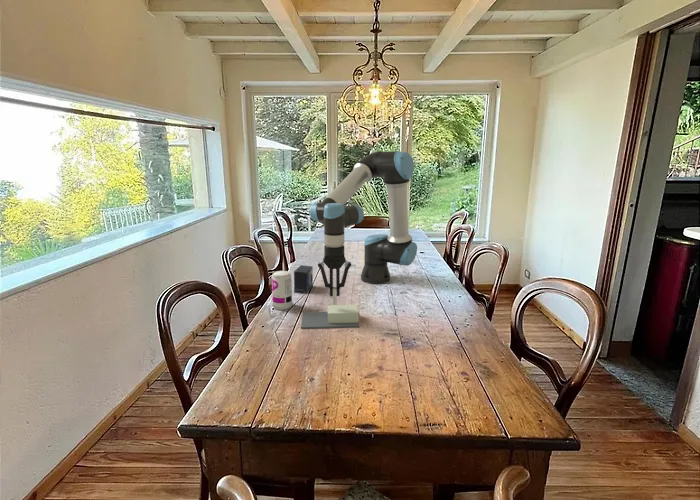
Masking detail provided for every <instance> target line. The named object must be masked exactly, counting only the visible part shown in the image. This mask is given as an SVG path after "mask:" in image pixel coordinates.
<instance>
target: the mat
mask: <svg viewBox="0 0 700 500" xmlns="http://www.w3.org/2000/svg"><path fill="white" fill-rule="evenodd" d="M343 328H346V329H347V328H349V329H350V328H360V321H359V322H356V323H328V311H307V312H304V311H303V312H302V316H301V324H300V329H301V330H302V329H307V330H309V329H343Z"/></svg>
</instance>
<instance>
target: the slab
mask: <svg viewBox="0 0 700 500" xmlns="http://www.w3.org/2000/svg"><path fill="white" fill-rule="evenodd" d="M327 312H328V323H356V322H359V323H360V310H359V305H358V304H337V305H333V304H332V305H327Z"/></svg>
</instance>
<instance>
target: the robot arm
mask: <svg viewBox="0 0 700 500" xmlns="http://www.w3.org/2000/svg"><path fill="white" fill-rule="evenodd" d="M414 171H415V162H414V159H413V157H412V155H411V154H410V153H409V152H406V151H399V150H397V151H396V150H395V151H393V150H392V151H390V150H389V151H387V150H386V151H382V150H380V151H379V150H377V151H373V152H371V153H369V154H367V155H365V156H364V157H362V158H361V159H360V160H359V161H357V162H356V164H354V166H353V168H352V170H351V172H350V173H349V174H348V175H347V176H346V177H345V178H344V179H343V180H342V181H341V182H340V183H339V184H338V185H337V186H335V188H334V189H333V190H332V191H331V192H330V193H329V194H328V195H327V196H326V197H325V198H324V199H323V200H322V201H321V202H313V203H312V204H311V205H310V207H309V211H308V212H309V216H310V218H311V219H312V220H313V221H316V222H321V223H322V222H323V227H324V228H323V229H324V231H323V235H324V236H323V242H324V249H323V250H324V251H323V252H324V257H323V258H322V260H321V261H318V262H317V267H318V268H319V270H320V272H321V276H322V281H323V284H324V287H325V288H328V289H329V296H330V297H332V305H338V298H337V297H340V296H341V295H340V294H341V292H340V290H341V288H344V287H345V285H346V281H347V277H348V273H349V270H350V268H351V266H352V263H351V261H348V260H347V259H346V256H345V228H346V227H350V226H355V225H357V224H360V223H361V222H362V221H363V220H364V216H365V213H364V210H363V208H362V206H360V205H358V204H351V205H345V204H347V202H349V200H350V199H351V198H352V197H353V196H354V195H355V194H356V193H357V192H358V191H359V190H360V189H361V187H362V186H364V184H365V183H368V182H370V181H372V179H375V178H382V179H383V184H384V185H385V186H386V187H387V199H388V214H389V215H388V216H389V217H388V219H389V234H390V235H388V234H385V233H380V234H379V233H378V234H371V235H369V236H366V237H365V239H364V244H363V246H364V253H363V254H364V261H363V262H364V265H363V268H362V271H361V273H360V280H361V281H362V282H364V283H367V284H371V285H372V284H374V285H379V284H380V285H381V284H387V283H388V282H390V281H391V273H390V271H389V266H388V263H389V264H394V265H400V266H410V265H411V264H412V263H413V262H414V260H415V259H416V256H417V251H418V245H417V243H416V242H414V241H413V236H411V234H410V233H409V219H408V218H409V216H408V214H409V213H408V199H407V198H408V194H407V193H408V191H407V189H408V188H407V185H408V184H409V182H410V181H411V180H410V179H412V178H413V176H414ZM325 265H326V267H327V268H328V269H329V281H328V279H327V275H326V270H325V268H324V267H325ZM343 265H344V271H343V273H342V274H343V275H342V278H341V279H340V276H341V275H340V273H341V271H340V269H341V268H342V267H343ZM334 270H336V271H335V272H336V273H335V275H336V276H335V279H336V280H335V281H336V282H335V283H336V284H335V285H336V286H334ZM340 280H341V282H340Z"/></svg>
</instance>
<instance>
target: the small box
mask: <svg viewBox="0 0 700 500" xmlns="http://www.w3.org/2000/svg"><path fill="white" fill-rule="evenodd" d="M313 269H314V268H313V265H312V266H311V265H302V264H300V265H299V266H298V267H297V268H295V270H294V271H293V293H300V294H307V293H308V292H309V291H310V290H311V289H312V288H313V286H314V283H313V282H314V280H313V279H314V277H313V276H314V275H313Z"/></svg>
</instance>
